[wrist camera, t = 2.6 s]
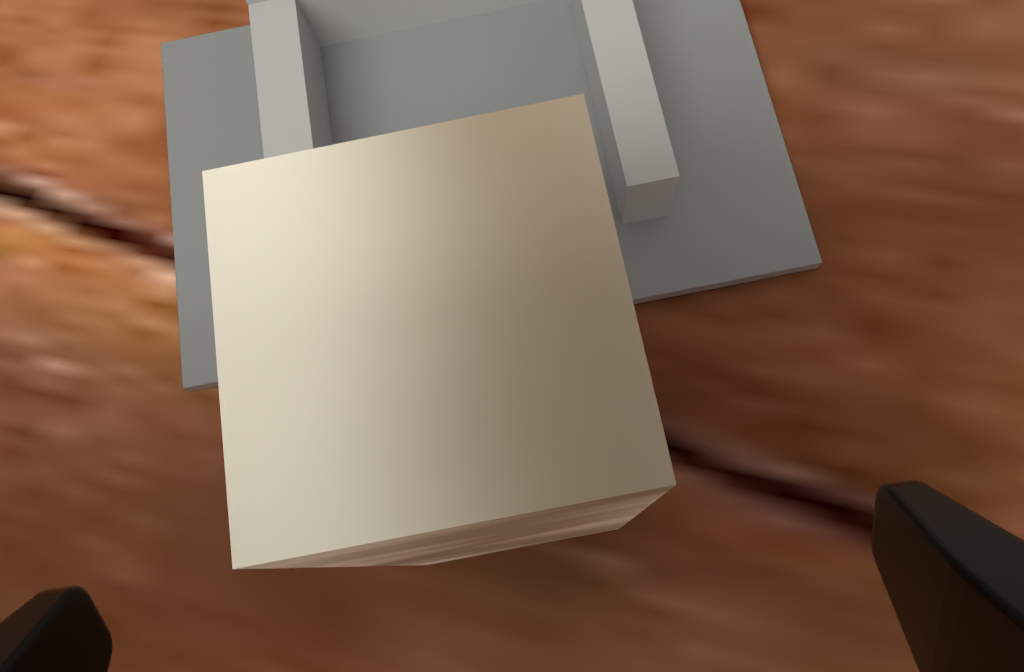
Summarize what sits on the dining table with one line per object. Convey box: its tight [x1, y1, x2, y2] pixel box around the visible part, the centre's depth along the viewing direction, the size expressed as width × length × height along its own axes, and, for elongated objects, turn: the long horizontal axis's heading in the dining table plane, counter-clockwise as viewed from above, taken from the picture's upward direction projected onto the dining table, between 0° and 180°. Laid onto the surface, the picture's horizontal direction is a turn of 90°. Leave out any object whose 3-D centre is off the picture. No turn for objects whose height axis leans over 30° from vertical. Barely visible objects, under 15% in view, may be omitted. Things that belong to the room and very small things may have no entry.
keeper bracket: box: [161, 0, 822, 392], centre depth 20 cm, size 16×10×4 cm, turn 100°
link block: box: [202, 94, 677, 569], centre depth 14 cm, size 4×5×11 cm
